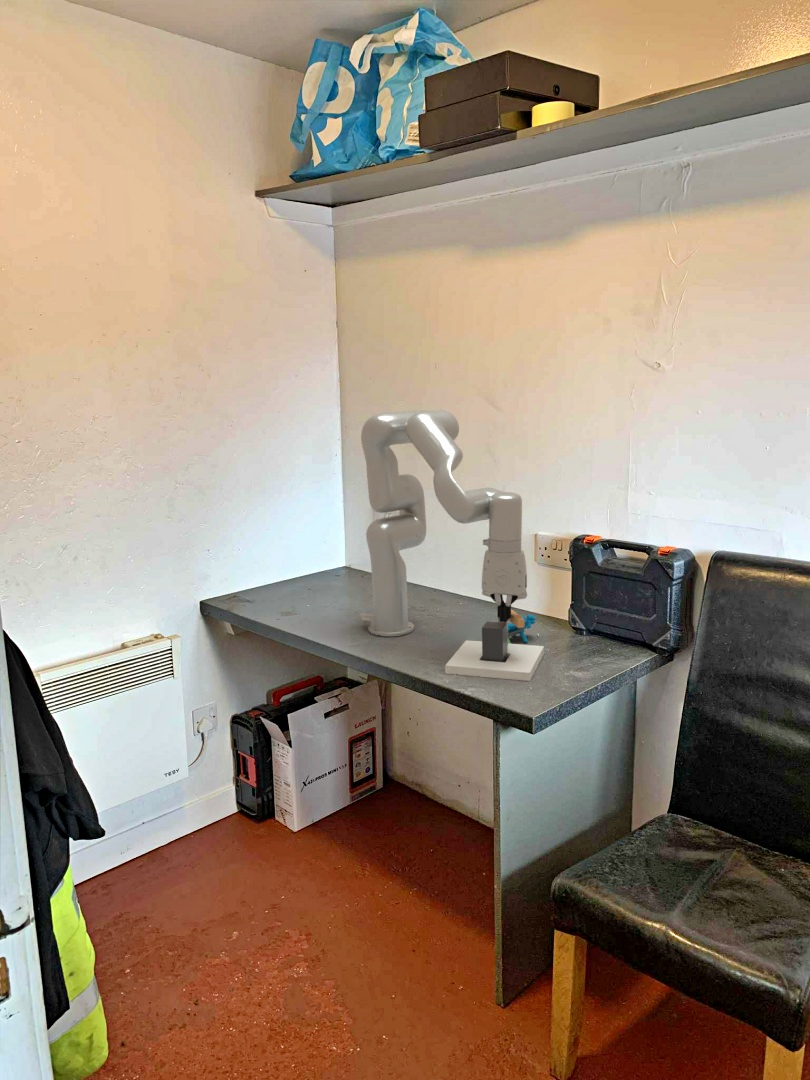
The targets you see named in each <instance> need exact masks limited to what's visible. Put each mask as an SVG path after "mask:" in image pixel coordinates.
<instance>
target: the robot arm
mask: <svg viewBox="0 0 810 1080" xmlns="http://www.w3.org/2000/svg"><path fill="white" fill-rule="evenodd" d="M459 425H460V424H459V422H458V419H457V418H456V417H455V415H454V414H452V413H451V412H450V411H447V410H442V409H441V410H406V411H405V410H404V411H390V412H382V413H377V414H374V415H372V416H371V417H369V418H368V419H367V420H366V421H365V422H364V424H363V426H362V428H361V433H360V441H361V447H362V450H363V454H364V455H363V456H364V459H365V464H366V466H365V467H366V479H367V490H368V491H367V492H368V499H369V505H370V507H371V509H372V510H373V511H374V512H376V513H382V514H383V513H392V512H397V511H398V512H399V514H398V515H397V514H396V515H392V516H391V515H390V516H386V517H385V516H384V517H381V518H378V519H375V520H374V521H372V522H371V523H370V524H369V525H368V527H367V528H366V533H365V536H366V537H365V538H366V543H367V547H368V551H369V556H370V557H369V558H370V564H371V566H370V568H371V584H372V585H371V587H372V588H371V589H372V610H373V611H372V613H363V612H362V613H360V621H361V622H362V623H369V625H368V632H369V631H370V632H371V633H370V632H369V633H370V634H372V633H373V634H372V635H374V634H375V635H374V636H378V635H380V637H400V636H406V635H407V634H410V633H412V632H413V631H414V630H415V625H414V623H412V622H411V621H409V612H408V611H409V610H408V609H409V608H408V581H407V577H408V576H407V565H406V562H405V561H404V558H403V557H402V555H401V554H400V551H403V550H407V549H410V548H411V549H412V548H415V547H418V546H420V545H421V544H423V542H424V541H425V538H426V536H427V515H426V503H425V493H424V489H423V486H422V483H421V482H420V480H419V479H418V478H417V477H416V476H415V475H412V474H409V473H405V474H400V473H399V462H398V461H399V460H398V458H397V456H396V454H395V452H394V451H393V449H392V448H391V447H390V446H394V445H405V444H412V445H413V446H414V447H415V449H416V450H417V451H418V453H419V454H420V455H421V456H422V458H423V459H424V461H425V462H426V463H427V464H428V466H429V467H430V468H431V470H432V471H433V477H432V478H433V489H434V493H435V496H436V498H437V501H438V503H439V504H440V505H441V507H442V508H443V510H444V511H446V513H447V514H448V515H449V516H450V517H451V518H452V519H453V520H454V521H456V522H457V523H458V524H459V523H460V524H470V523H476V522H481V521H486V520H488V537H487V538H486V539H485V538H484V539H483V540H482V545H483V546H486V547H487V550H485V552H484V556H483V563H482V575H481V590H482V592H481V594H482V595H483V596H485V597H488V598H491V600H493V602H495V605H496V606H497V618H498V617H500V622H507V621H508V622H509V620H508V619H509V618H511V609H512V605H513V604H514V603H515V602H516V601H517V600H524V599H527V597H528V592H527V587H528V577H527V576H528V574H527V563H526V557H525V556H526V555H525V551H524V550H522V533H523V532H522V525H523V524H522V522H523V521H522V519H523V518H522V516H523V515H522V514H523V498H522V496H521V495H520V494H519V493H516V492H510V491H509V492H507V491H501V490H499V489H496V488H494V487H493V488H492V487H483V488H477V489H472V490H471V489H470V490H465V491H464V490H463V489H462V487H461V486H460V485H459V484H458V482H457V481H456V480H455V478H454V475H453V472H454V471H455V470H456V469H457V468H458V467H459V465H460V464H461V462H462V461H463V458H464V457H463V455H464V453H463V451H462V450H461V448H460V446H458V444H457V443H456V442H455V440H456V439H457V437H458V436H459V432H460V427H459ZM504 596H506V599H505V601H504Z"/></svg>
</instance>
